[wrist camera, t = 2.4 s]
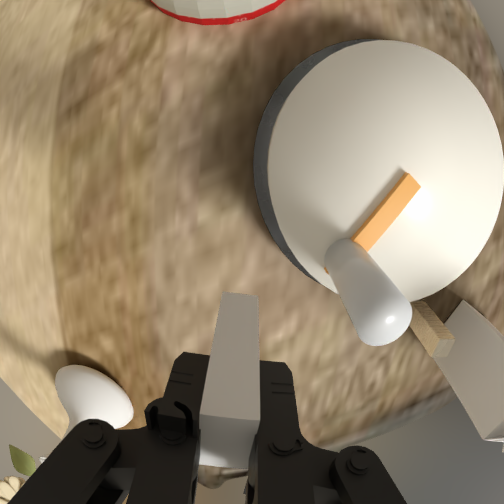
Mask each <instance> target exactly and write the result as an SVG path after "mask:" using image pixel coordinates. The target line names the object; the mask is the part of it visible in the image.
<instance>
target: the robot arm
mask: <svg viewBox="0 0 504 504" xmlns="http://www.w3.org/2000/svg"><path fill="white" fill-rule="evenodd" d="M144 412H145V418H146V423H147V426H145V427H142V428H139V429H128V430H115V429H114V427H113V426H112V425H110V424H109V423H108V422H106V421H103V420H100V419H87V420H84V421H81V422H80V423H78V424H77V425H76V426H74V428H73V429H72V430H71V431H70V432H69V433H68V434H67V435H66V437H65V438H64V439H63V440H62V441H61V442H60V443H59V445H58V446H57V447H56V448H55V449H54V450H53V451H52V452H51V454H50V455H49V456H48V457H47V458H46V459H45V460H44V462H43V463H42V464H41V465H40V466H39V467H38V469H37V470H36V471H35V472H34V473H33V474H32V475H31V477H30V478H29V479H28V480H27V481H26V482H25V483H24V485H23V486H22V487H21V488H20V489H19V490H18V492H17V493H16V494H15V495H14V496H13V497H12V499H11V500H10V501H9V502H8V503H7V504H122V503H123V501H124V500H125V498H126V497H127V495H128V494H129V495H128V499H127V502H126V504H194V503H195V496H196V488H197V481H198V467H199V464H202V465H210V466H218V467H228V468H239V469H248V479H247V483H246V486H245V489H244V494H246V503H245V504H407V503H406V501H405V500H404V498H403V496H402V495H401V493H400V492H399V490H398V488H397V487H396V485H395V484H394V482H393V480H392V478H391V477H390V475H389V474H388V472H387V470H386V469H385V467H384V465H383V464H382V462H381V461H380V459H379V457H378V456H377V455H376V454H375V453H374V452H373V451H372V450H370V449H368V448H366V447H362V446H349V447H347V448H345V449H343V450H341V451H340V452H339V453H338V452H333V451H329V450H325V449H321V448H318V447H315V446H314V445H312V444H310V443H309V442H308V441H307V440H306V439H305V438H304V437H303V436H302V434H301V432H300V428H299V421H298V414H297V406H296V399H295V391H294V386H293V376H292V372H291V371H290V369H289V368H288V366H287V365H286V363H285V362H272V361H261V360H259V307H258V296H256V295H247V294H239V293H230V292H222V297H221V302H220V308H219V313H218V318H217V323H216V328H215V333H214V338H213V344H212V349H211V354H210V356H209V355H202V354H195V353H188V352H183V353H182V354H181V355H180V356H179V357H178V358H177V359H176V360H175V361H174V364H173V367H172V370H171V374H170V377H169V381H168V383H167V386H166V389H165V393H164V396H163V398H159V399H156V400H154V401H153V402H151V403H149V404H148V406H147V407H146V409H145V410H144Z"/></svg>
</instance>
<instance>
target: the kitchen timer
mask: <svg viewBox="0 0 504 504" xmlns="http://www.w3.org/2000/svg"><path fill="white" fill-rule="evenodd" d="M150 1H151V2H152V3H153V4H154V5H156V6H157V7H158V8H159V9H160V10H161V11H162V12H163V13H165V14H167V15H169V16H172V17H174V18H176V19H178V20H180V21H184V22H190V23H195V24H201V25H224V24H232V23H237V22H241V21H246V20H250V19H254V18H256V17H258V16H260V15H262V14H265V13H267V12H269V11H271V10H274V9H275V8H276V7H277V6H279V5H280V4H281V3H282V2H284V1H285V0H150Z"/></svg>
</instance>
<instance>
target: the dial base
mask: <svg viewBox="0 0 504 504" xmlns="http://www.w3.org/2000/svg"><path fill="white" fill-rule="evenodd" d="M376 40H379V39H358V40H351V41H345V42H341V43H338V44H335V45H332V46H329V47H326V48H324V49H322V50H320V51H318V52H316V53H314V54H313V55H311V56H310V57H308V58H307V59H305V60H304V61H303V62H301V63H300V64H299V65H297V66H296V67H295V68H294V69H293V70H292V71H291V72H290V73H289V74H288V75H287V76H286V77H285V78H284V80H283V81H282V82H281V84H280V85H279V86H278V88H277V89H276V90H275V92H274V93H273V95H272V97H271V99H270V101H269V103H268V105H267V106H266V108H265V110H264V113H263V116H262V119H261V121H260V124H259V127H258V131H257V136H256V141H255V146H254V160H253V171H254V185H255V190H256V195H257V200H258V204H259V207H260V210H261V213H262V216H263V219H264V222H265V224H266V226H267V228H268V230H269V232H270V234H271V236H272V238H273V239H274V240H275V242H276V243H277V245H278V246H279V248H280V249H281V251H282V252H283V253H284V254H285V255H286V257H287V258H288V259H289V260H290V261H291V262H292V263H293V264H294V265H295V266H296V267H297V268H298V269H300V270H301V271H302V272H303V273H304V274H305V275H307V276H308V277H310V278H312V279H313V280H315V281H316V282H318V283H319V284H321V283H320V282H319V281H317V280H316V279H315V278H314V277H313V276H312V275H310V274H309V273H308V272H307V270H306V269H305V268H304V267H303V266H302V265H301V264H300V262H299V261H298V260H297V259H296V257H295V255H294V254H293V252H292V251H291V249H290V248H289V246H288V245H287V243H286V241H285V238H284V236H283V234H282V232H281V230H280V228H279V225H278V222H277V219H276V216H275V213H274V209H273V205H272V201H271V196H270V191H269V186H268V174H267V160H268V148H269V143H270V138H271V133H272V130H273V127H274V124H275V121H276V119H277V116H278V114H279V112H280V110H281V108H282V106H283V104H284V102H285V100H286V99H287V97H288V96H289V95H290V93H291V92H292V91H293V89H294V88H295V86H296V85H297V84H298V83H299V82H300V81H301V80H302V78H303V77H304V76H305V75H306V74H307V73H308V72H309V71H310V70H311V69H313V68H314V67H315V66H316V65H317V64H318V63H320V62H321V61H323V60H324V59H325V58H327V57H328V56H330V55H331V54H333V53H335V52H337V51H339V50H341V49H343V48H346V47H348V46H352V45H355V44H358V43H362V42H368V41H376ZM409 303H410V305H411V307H412V318H411V322H410V324H409V326H410V327H411V329H412V330H413V332H414V333H415V335H416V336H417V337H418V339H419V340H420V342H421V343H422V345H423V346H424V348H425V349H426V351H427V352H428V354H429V355H430V357H431V358H432V357H447V355H448V353H449V352H450V350H451V348H452V346H453V344H454V342H455V340H456V339H455V337H454V336H453V335H452V334H451V332H450V331H449V330H448V329H447V328H446V326H445V325H444V324H443V323H442V322H441V320H440V319H439V318H438V317H437V316H436V314H435V313H434V312H433V311H432V310H431V308H430V307H429V306H428V305H427V304H426V303H425V302H424V301H418V300H416V301H412V302H409Z"/></svg>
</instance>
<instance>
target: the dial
mask: <svg viewBox="0 0 504 504" xmlns="http://www.w3.org/2000/svg"><path fill="white" fill-rule="evenodd" d="M267 174H268V186H269V191H270V196H271V201H272V205H273V209H274V213H275V216H276V219H277V222H278V225H279V228H280V230H281V232H282V234H283V236H284V238H285V241H286V243H287V245H288V246H289V248H290V249H291V251H292V252H293V254H294V255H295V257H296V259H297V260H298V261H299V262H300V264H301V265H302V266H303V267H304V268H305V269H306V270H307V272H308V273H309V274H310V275H312V276H313V277H314V278H315V279H316V280H317V281H319V282H320V283H321V284H322V285H324V286H325V287H327V288H329V289H330V290H332V291H333V292H335V293H337V294H339V295H340V298H341V300H342V302H343V304H344V306H345V308H346V310H347V312H348V314H349V316H350V318H351V321H352V323H353V325H354V327H355V329H356V331H357V334H358V336H359V337H360V339H361V340H362V341H363V342H364V343H366V344H368V345H372V346H381V345H385V344H388V343H391V342H393V341H394V340H396V339H397V338H399V337H400V336H401V335H402V334H403V333H404V332H405V331H406V329H407V328H408V326H409V324H410V322H411V318H412V307H411V305H410V303H409V302H412V301H416V300H419V299H422V298H424V297H427V296H429V295H432V294H434V293H435V292H437V291H439V290H441V289H443V288H444V287H446V286H447V285H448V284H450V283H451V282H453V281H454V280H455V279H456V278H458V277H459V276H460V275H461V274H462V273H463V272H464V271H465V270H466V269H467V268H468V267H469V266H470V265H471V263H472V262H473V261H474V260H475V259H476V257H477V256H478V254H479V253H480V251H481V250H482V249H483V247H484V245H485V243H486V242H487V240H488V238H489V236H490V234H491V232H492V229H493V227H494V225H495V222H496V219H497V216H498V213H499V209H500V205H501V200H502V194H503V186H504V159H503V152H502V145H501V141H500V137H499V133H498V130H497V127H496V124H495V121H494V119H493V116H492V114H491V112H490V110H489V108H488V106H487V104H486V102H485V101H484V99H483V97H482V96H481V94H480V93H479V91H478V90H477V88H476V87H475V86H474V85H473V84H472V82H471V81H470V80H469V79H468V78H467V77H466V76H465V75H464V74H463V73H462V72H461V71H460V70H459V69H458V68H457V67H456V66H454V65H453V64H452V63H450V62H449V61H447V60H446V59H445V58H443V57H442V56H440V55H438V54H436V53H434V52H432V51H430V50H428V49H426V48H423V47H420V46H417V45H414V44H411V43H406V42H401V41H393V40H376V41H368V42H362V43H358V44H355V45H352V46H348V47H346V48H343V49H341V50H339V51H337V52H335V53H333V54H331V55H330V56H328V57H327V58H325V59H324V60H323V61H321V62H320V63H318V64H317V65H316V66H315V67H314V68H313V69H311V70H310V71H309V72H308V73H307V74H306V75H305V76H304V77H303V78H302V80H301V81H300V82H299V83H298V84H297V85H296V86H295V88H294V89H293V91H292V92H291V93H290V95H289V96H288V97H287V99H286V100H285V102H284V104H283V106H282V108H281V110H280V112H279V114H278V116H277V119H276V121H275V124H274V127H273V130H272V133H271V138H270V143H269V148H268V160H267Z"/></svg>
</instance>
